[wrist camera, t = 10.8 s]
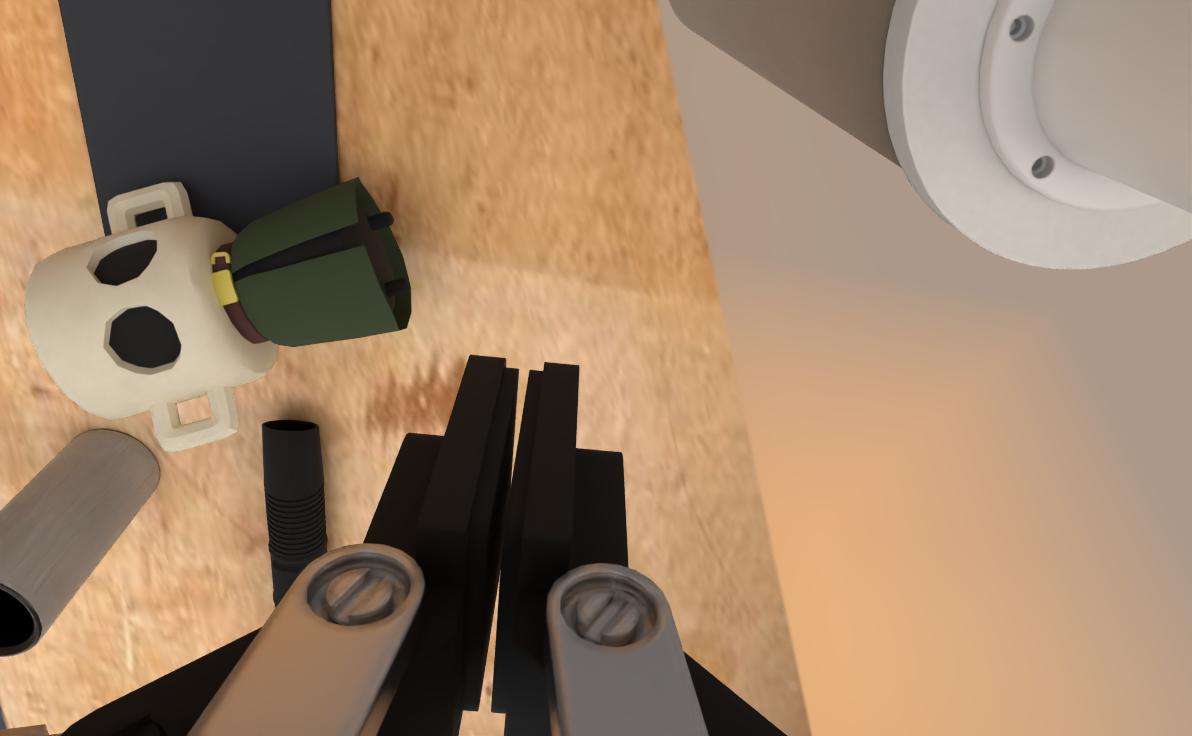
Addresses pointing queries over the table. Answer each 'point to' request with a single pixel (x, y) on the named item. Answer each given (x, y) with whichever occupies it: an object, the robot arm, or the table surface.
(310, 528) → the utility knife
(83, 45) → the mat
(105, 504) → the grey hollow cylinder
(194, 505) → the table surface
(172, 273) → the character mug
